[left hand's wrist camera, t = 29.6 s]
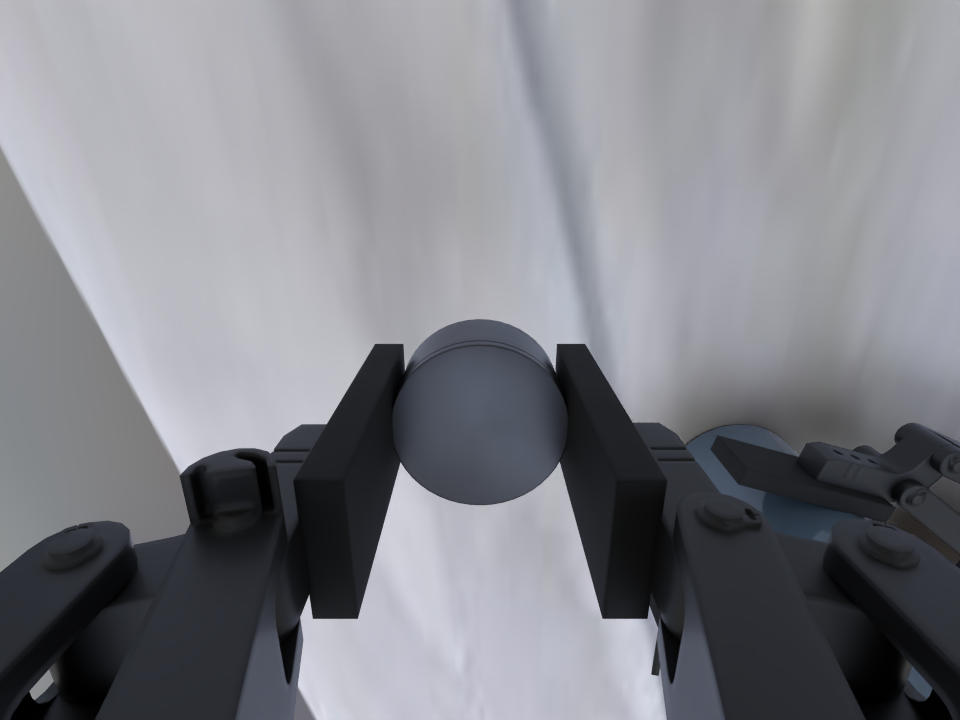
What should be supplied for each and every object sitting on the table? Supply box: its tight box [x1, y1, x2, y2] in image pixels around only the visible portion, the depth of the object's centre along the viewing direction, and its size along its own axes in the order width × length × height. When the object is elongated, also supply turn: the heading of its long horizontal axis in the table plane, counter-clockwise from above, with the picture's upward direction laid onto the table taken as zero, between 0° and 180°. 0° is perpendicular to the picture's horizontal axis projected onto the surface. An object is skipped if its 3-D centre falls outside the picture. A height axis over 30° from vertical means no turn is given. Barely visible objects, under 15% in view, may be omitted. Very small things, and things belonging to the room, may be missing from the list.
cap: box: [392, 319, 568, 505], centre depth 13 cm, size 4×4×2 cm
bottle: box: [686, 424, 933, 698], centre depth 19 cm, size 7×7×22 cm
